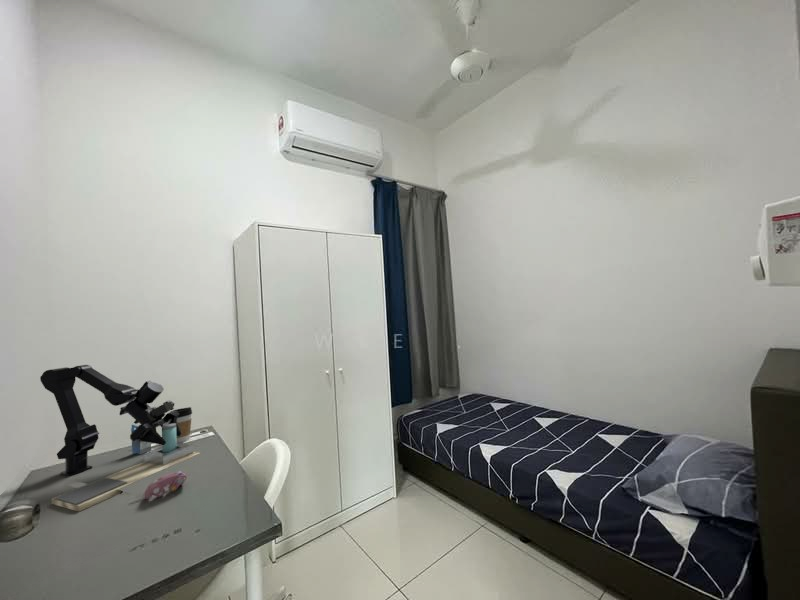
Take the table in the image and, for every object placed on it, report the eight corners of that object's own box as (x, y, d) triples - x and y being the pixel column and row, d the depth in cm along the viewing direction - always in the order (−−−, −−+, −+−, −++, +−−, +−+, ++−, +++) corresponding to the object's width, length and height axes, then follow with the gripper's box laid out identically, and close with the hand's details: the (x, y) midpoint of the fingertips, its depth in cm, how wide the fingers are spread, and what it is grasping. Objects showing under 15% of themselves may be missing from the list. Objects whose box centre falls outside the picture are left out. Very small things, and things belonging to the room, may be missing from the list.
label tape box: (152, 454, 124) (151, 423, 125) (139, 458, 121) (139, 426, 122) (143, 451, 129) (142, 421, 130) (130, 454, 125) (130, 424, 126)
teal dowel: (159, 459, 114) (158, 426, 115) (172, 454, 118) (171, 423, 119) (167, 460, 113) (166, 427, 113) (179, 455, 117) (178, 423, 118)
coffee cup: (184, 447, 130) (183, 411, 131) (164, 448, 130) (163, 412, 131) (197, 439, 138) (196, 405, 139) (178, 440, 138) (178, 407, 139)
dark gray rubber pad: (54, 499, 90) (54, 497, 90) (105, 478, 101) (105, 477, 101) (76, 505, 86) (76, 503, 86) (127, 483, 97) (127, 481, 97)
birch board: (51, 503, 91) (51, 498, 91) (175, 453, 123) (174, 449, 123) (79, 511, 85) (79, 506, 85) (200, 456, 118) (200, 452, 118)
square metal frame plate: (144, 462, 112) (144, 454, 113) (175, 450, 122) (175, 442, 123) (163, 465, 108) (163, 457, 109) (193, 452, 119) (193, 444, 119)
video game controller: (146, 508, 87) (149, 488, 86) (142, 496, 90) (145, 477, 89) (186, 491, 95) (189, 473, 94) (181, 481, 98) (184, 463, 96)
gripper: (138, 402, 108) (171, 431, 107) (174, 390, 126) (202, 415, 126) (115, 427, 106) (148, 456, 106) (154, 411, 125) (183, 436, 125)
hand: (173, 439), depth 116 cm, fingers open, 8 cm apart
